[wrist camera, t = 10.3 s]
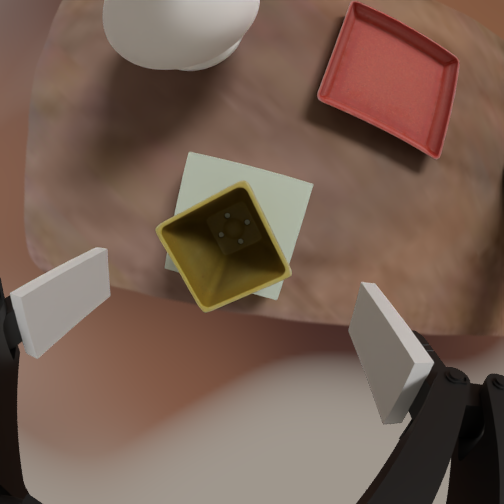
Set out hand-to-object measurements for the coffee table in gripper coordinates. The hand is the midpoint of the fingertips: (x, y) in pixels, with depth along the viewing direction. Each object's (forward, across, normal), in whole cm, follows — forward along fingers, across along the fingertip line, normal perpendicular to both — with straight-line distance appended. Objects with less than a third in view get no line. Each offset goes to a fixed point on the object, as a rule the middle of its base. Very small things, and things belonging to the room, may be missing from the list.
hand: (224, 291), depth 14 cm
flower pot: (+19, +2, +1) cm, 19 cm away
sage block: (+24, +2, +1) cm, 25 cm away
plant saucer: (+25, -16, -22) cm, 37 cm away
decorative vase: (+24, +11, -25) cm, 37 cm away
